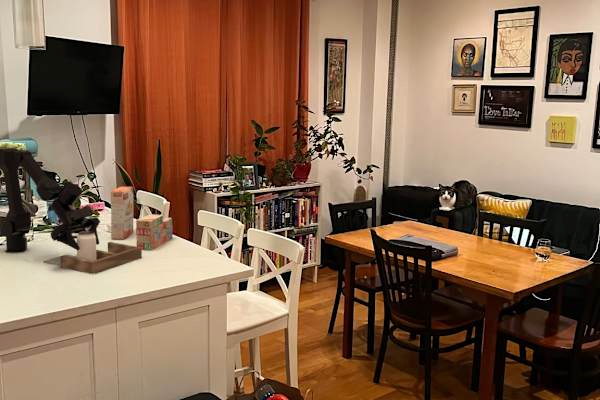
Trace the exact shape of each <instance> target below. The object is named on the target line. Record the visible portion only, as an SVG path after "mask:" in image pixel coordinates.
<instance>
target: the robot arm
mask: <svg viewBox="0 0 600 400" xmlns="http://www.w3.org/2000/svg"><path fill="white" fill-rule="evenodd" d="M20 167H22V168H23V169H24V171H25V172H26V173H27V175H28V176H29V177H30V178H31V180H32V181H33V183H34V184H35V186H36V189H35V190H36V192H37V194H38V196H39V199H41V201H43V202H50V201H51V203H48V207H47V212H54V214H55V215H56V217H57V218H58V220H57V223H58V224H57V225H56V226H55V227H54V228H53V230H52V231H51V232H50V238H51V239H52V240H53V241H57V243H58V242H59V243H61V244H64V245H66V246H68V247H70V248H73V249H74V250H76V251H77V250H79V249H80V247H79V245H78V244H77V240H76V239H75V238H74V236H73V234H72V233H73V232H76V231H79V230H81V231H93V232H95V233H94V234H95V236H96V246H97V245H100V240H99V236H98V231H97V228H98V227H99V225H100V223H101V220H100V219H99V218H98V217H97V216H93V217H91V214H92V213H93V209H92V207H91V206H90V205H85V206H82V208H78V209H73V208H72V206H74V204H75V203H76V201H77V200H78V199H79V198H80V197H81V195H83V190H82V188H81V187H80V186H79V185H77V184H75V183H72V181H71V180H70V181H66V182H64V185H63V186H61V184H60V183H58V181H56V180H54V179H52V178H50V176H48V175H47V173H46V172H45V171H44V170H43V168H42V167H41V166H40V164H39V163H38V162H37V160H36V159H35V158H34V157H33V154H32V152H31V150H28V149H26V150H25V149H24V150H22V149H21V150H19V149H18V148H16V147H2V148H0V170H1V172H2V174H3V179H4V180H3V181H4V185H5V193H6V199H7V204H8V211H7V214H6V216H5V224H4V226H3V227H2V228H1V229H0V233H1V236H2V237H5V241H6V243H5V244H6V250H5V253H22V252H25V251H26V249H28V237H27V236H26V234H30V230H31V227H32V223H33V221H32V217H31V212H30V211H27V210H26V209H25V208H24V204H23V203H24V202H23V196H22V190H21V183H20V177H19V176H20V175H19V168H20ZM87 217H90V218H87ZM85 218H87V219H85ZM84 221H85V222H84ZM83 222H84V223H83Z"/></svg>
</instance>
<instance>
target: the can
mask: <svg viewBox="0 0 600 400" xmlns="http://www.w3.org/2000/svg"><path fill="white" fill-rule="evenodd" d="M94 233H95V232H93V231H83V230H81V231H78V232H77V235H76V242H77V244H78V245H79V247H80V249H79V250H76V256H77V258H80V259H85V260H90V261H95V260H97V258H96V250H97V244H96V236H95V234H94Z"/></svg>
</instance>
